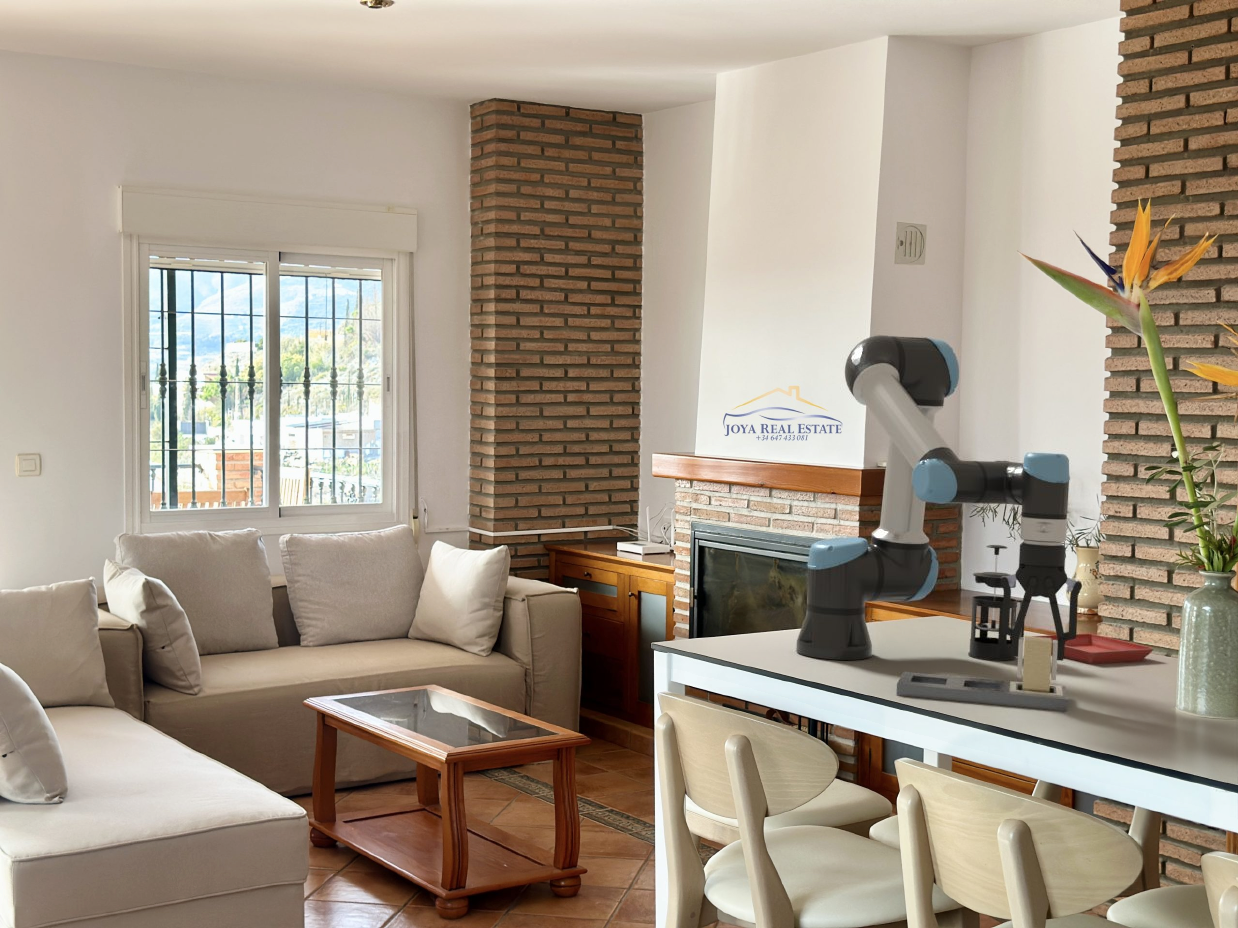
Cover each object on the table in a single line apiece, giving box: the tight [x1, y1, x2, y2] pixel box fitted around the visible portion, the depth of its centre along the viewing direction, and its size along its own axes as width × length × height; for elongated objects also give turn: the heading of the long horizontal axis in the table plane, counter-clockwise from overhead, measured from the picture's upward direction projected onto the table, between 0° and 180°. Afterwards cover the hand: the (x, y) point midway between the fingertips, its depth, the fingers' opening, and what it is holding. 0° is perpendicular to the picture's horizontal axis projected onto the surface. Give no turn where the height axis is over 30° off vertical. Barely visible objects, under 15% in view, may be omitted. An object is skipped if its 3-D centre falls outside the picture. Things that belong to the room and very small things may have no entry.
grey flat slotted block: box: [896, 671, 1068, 712], centre depth 231 cm, size 28×12×2 cm, turn 73°
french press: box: [968, 544, 1025, 662], centre depth 272 cm, size 12×9×23 cm
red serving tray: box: [1029, 633, 1155, 665], centre depth 278 cm, size 18×18×3 cm
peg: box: [1022, 635, 1052, 693], centre depth 229 cm, size 4×4×11 cm
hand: (1036, 676), depth 229 cm, fingers open, 5 cm apart
